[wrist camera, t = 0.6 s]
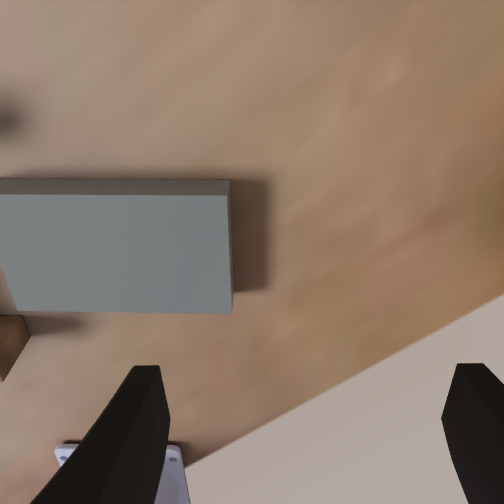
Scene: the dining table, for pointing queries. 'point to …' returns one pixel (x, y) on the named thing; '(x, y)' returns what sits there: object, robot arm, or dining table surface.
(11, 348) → the shelf
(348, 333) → the dining table surface
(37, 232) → the tile
